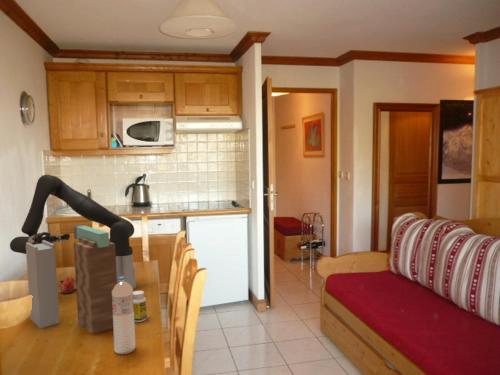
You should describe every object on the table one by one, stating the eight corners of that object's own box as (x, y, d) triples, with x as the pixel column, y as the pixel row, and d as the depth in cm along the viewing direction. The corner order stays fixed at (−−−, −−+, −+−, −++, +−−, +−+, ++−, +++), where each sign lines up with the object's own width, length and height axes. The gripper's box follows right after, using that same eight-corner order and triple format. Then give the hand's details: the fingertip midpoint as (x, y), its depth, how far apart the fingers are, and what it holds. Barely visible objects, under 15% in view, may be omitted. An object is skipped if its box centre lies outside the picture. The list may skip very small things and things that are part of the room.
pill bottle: (142, 323, 159) (141, 295, 158) (127, 322, 160) (126, 294, 159) (149, 317, 165) (148, 290, 164) (135, 316, 166) (134, 289, 166)
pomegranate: (71, 293, 202) (53, 284, 197) (80, 280, 204) (63, 271, 198) (74, 299, 196) (55, 290, 191) (83, 286, 197) (65, 277, 192)
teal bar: (74, 238, 165) (73, 226, 165) (83, 237, 168) (82, 224, 167) (99, 247, 148) (98, 234, 148) (109, 246, 150) (108, 232, 150)
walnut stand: (78, 323, 160) (73, 238, 157) (103, 316, 167) (99, 234, 164) (93, 334, 150) (88, 244, 147) (119, 326, 157) (114, 239, 154)
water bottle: (117, 345, 141) (113, 274, 139) (137, 344, 141) (134, 273, 139) (112, 355, 134) (108, 280, 132) (133, 354, 135) (130, 279, 132)
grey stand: (30, 319, 165) (25, 242, 162) (49, 314, 170) (44, 240, 167) (40, 328, 156) (35, 247, 154) (59, 323, 161) (54, 244, 158)
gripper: (23, 234, 182) (42, 229, 173) (54, 232, 193) (73, 227, 184) (24, 251, 181) (44, 247, 172) (56, 247, 192) (75, 243, 183)
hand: (59, 236), depth 178 cm, fingers open, 8 cm apart
